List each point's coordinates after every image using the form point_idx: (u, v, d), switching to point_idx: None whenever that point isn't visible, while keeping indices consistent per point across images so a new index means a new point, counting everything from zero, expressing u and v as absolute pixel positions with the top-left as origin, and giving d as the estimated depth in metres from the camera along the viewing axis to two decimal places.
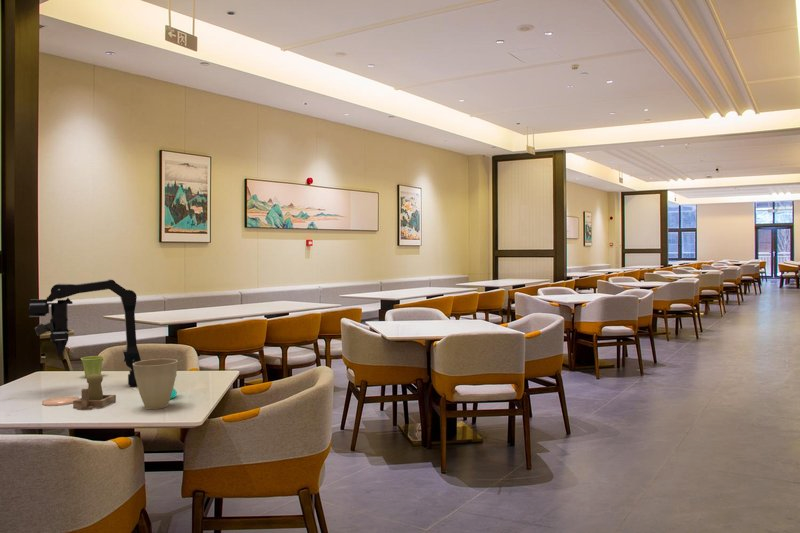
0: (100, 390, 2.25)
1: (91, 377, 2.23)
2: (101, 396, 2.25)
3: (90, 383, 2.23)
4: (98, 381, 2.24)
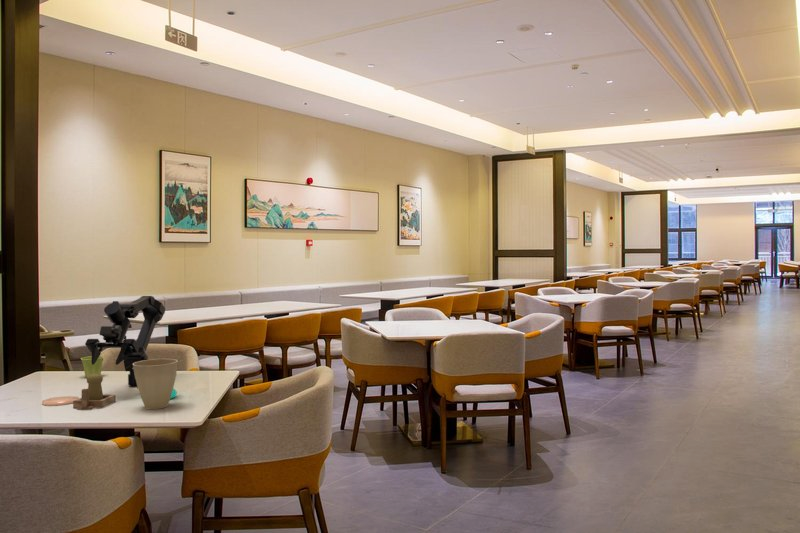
0: (100, 390, 2.25)
1: (91, 377, 2.23)
2: (101, 396, 2.25)
3: (90, 383, 2.23)
4: (98, 381, 2.24)
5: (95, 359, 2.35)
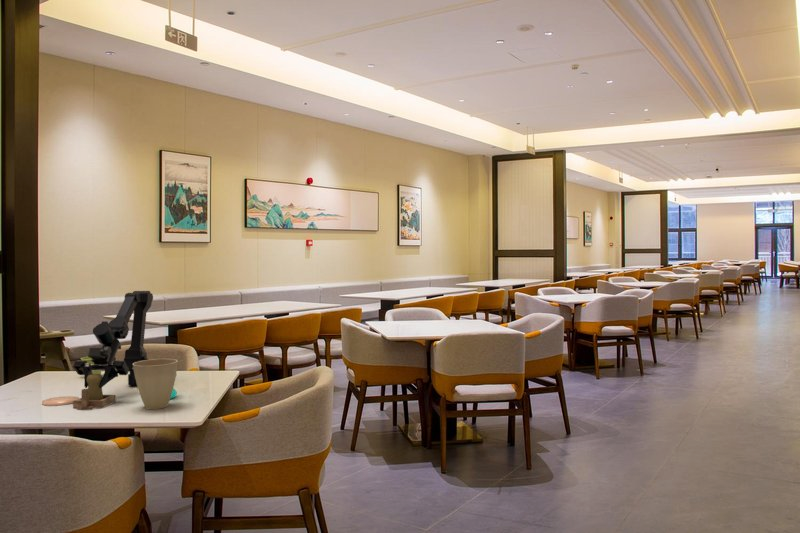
0: (100, 390, 2.25)
1: (91, 377, 2.23)
2: (101, 396, 2.25)
3: (90, 383, 2.23)
4: (98, 381, 2.24)
5: None
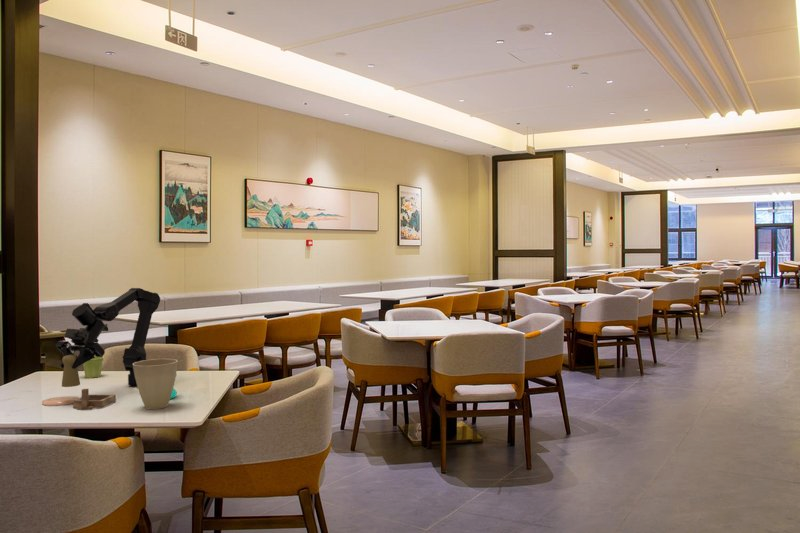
0: (74, 371, 2.26)
1: (65, 358, 2.25)
2: (75, 377, 2.27)
3: (64, 363, 2.26)
4: (71, 362, 2.26)
5: None
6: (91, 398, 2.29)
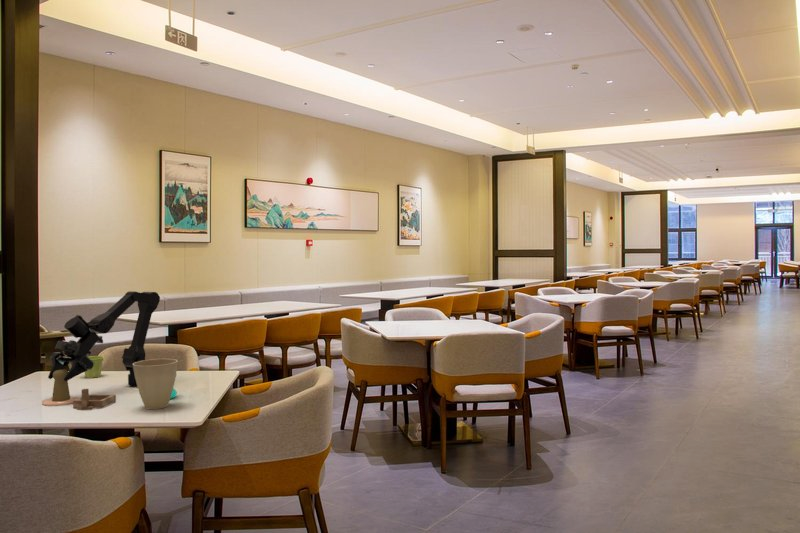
0: (63, 386, 2.29)
1: (55, 372, 2.28)
2: (64, 392, 2.29)
3: (54, 378, 2.28)
4: (60, 377, 2.28)
5: None
6: (91, 398, 2.29)
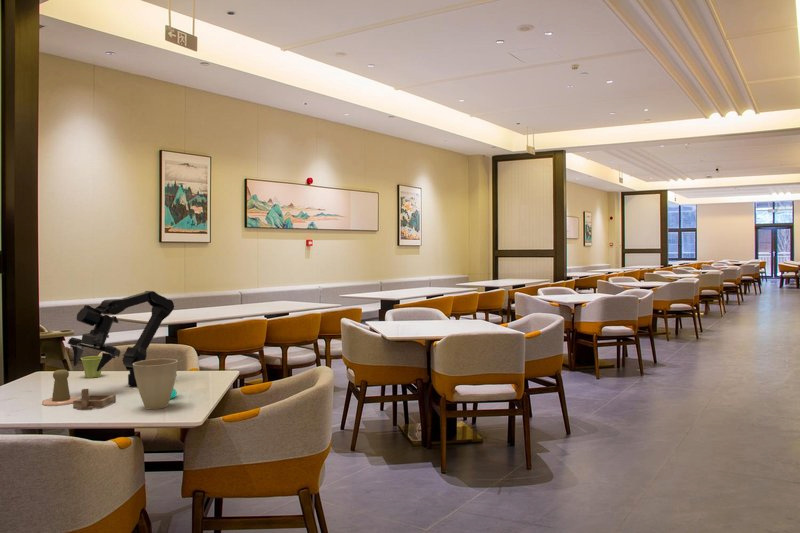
0: (63, 386, 2.29)
1: (55, 372, 2.28)
2: (64, 392, 2.29)
3: (54, 378, 2.28)
4: (61, 377, 2.28)
5: (77, 360, 2.42)
6: (91, 398, 2.29)
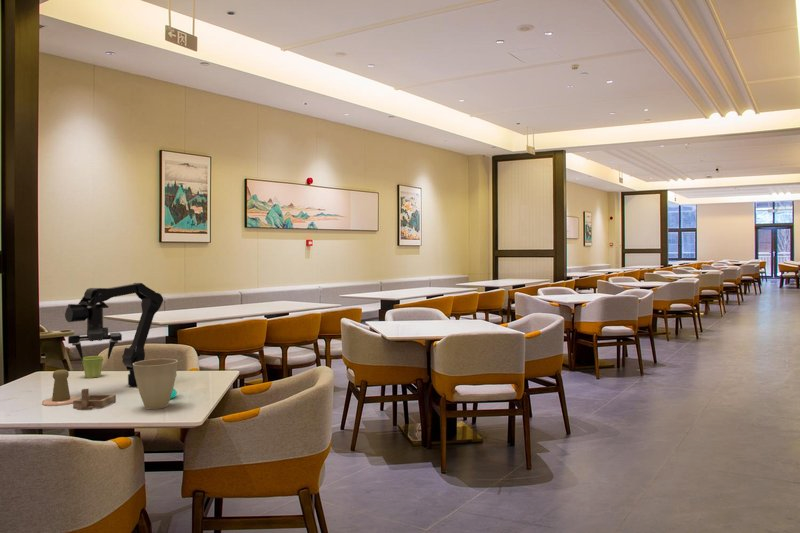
0: (63, 386, 2.29)
1: (54, 372, 2.28)
2: (64, 392, 2.29)
3: (54, 378, 2.28)
4: (60, 377, 2.28)
5: None
6: (91, 398, 2.29)
